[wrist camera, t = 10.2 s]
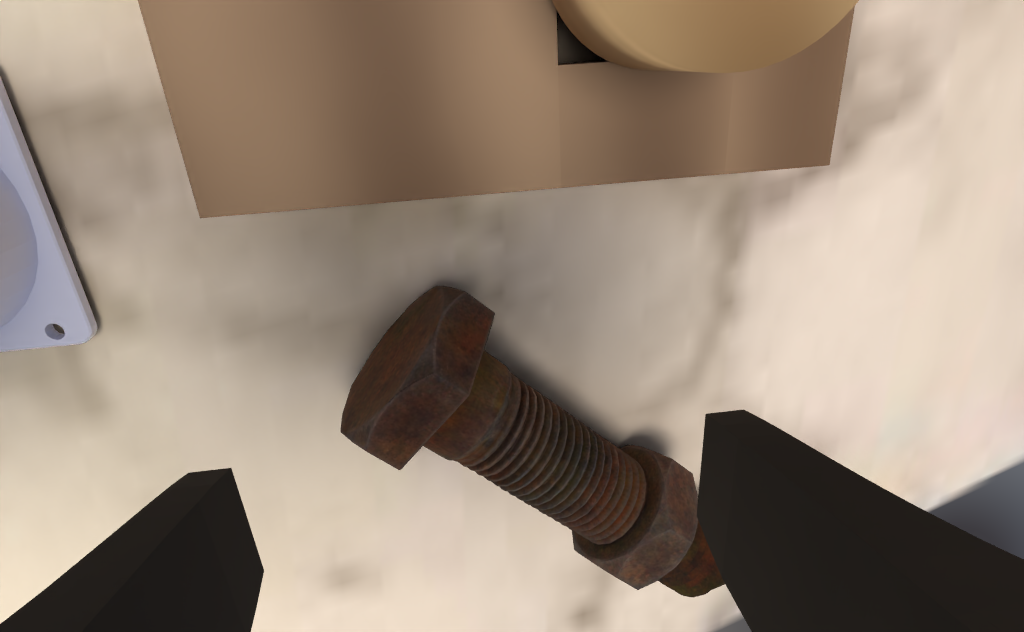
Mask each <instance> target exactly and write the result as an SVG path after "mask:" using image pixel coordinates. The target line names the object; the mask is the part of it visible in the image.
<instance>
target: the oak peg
mask: <svg viewBox="0 0 1024 632" xmlns="http://www.w3.org/2000/svg"><path fill="white" fill-rule="evenodd" d="M858 1H859V0H552V2H553V4H554V6H555V8H556V9H557V11H558V13H559V15H560V17H561V19H562V20H563V21H564V23H565V24H566V26H567V27H568V28H569V30H570V31H571V32H572V33H573V34H574V35H575V37H576V38H577V39H578V40H579V41H580V42H581V43H582V44H583V45H585V46H586V47H587V48H588V49H590V50H591V51H592V52H594V53H595V54H597V55H598V56H600V57H602V58H604V59H605V60H607V61H609V62H612V63H615V64H617V65H620V66H623V67H627V68H632V69H638V70H653V71H680V72H708V73H733V72H745V71H750V70H754V69H759V68H764V67H767V66H769V65H772V64H775V63H777V62H780V61H783V60H785V59H787V58H789V57H791V56H793V55H795V54H797V53H799V52H801V51H802V50H804V49H805V48H807V47H808V46H810V45H811V44H813V43H814V42H816V41H817V40H819V39H820V38H821V37H823V36H824V35H825V34H826V33H827V32H828V31H830V30H831V29H832V28H833V27H834V26H835V25H837V24H838V23H839V22H840V21H841V20H842V19H843V18H844V17H845V15H846V14H847V13H848V12H849V11H850V10H851V9H852V8H853V7H854V6H855V5H856V3H857V2H858Z"/></svg>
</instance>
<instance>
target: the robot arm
mask: <svg viewBox="0 0 1024 632" xmlns="http://www.w3.org/2000/svg"><path fill="white" fill-rule="evenodd" d="M53 324H57V325H59V326H61V327H62V328H63V330H64V332H65V334H61V333H59V332H57V331H56V330H55V328H54V327H53ZM96 332H97V323H96V321H95V318H94V316H93V313H92V310H91V308H90V305H89V303H88V300H87V298H86V295H85V292H84V290H83V287H82V285H81V282H80V280H79V277H78V274H77V272H76V269H75V267H74V264H73V262H72V259H71V257H70V254H69V251H68V249H67V246H66V244H65V241H64V239H63V236H62V233H61V231H60V228H59V226H58V223H57V221H56V218H55V215H54V213H53V210H52V208H51V205H50V203H49V200H48V197H47V195H46V192H45V190H44V187H43V185H42V182H41V179H40V177H39V174H38V172H37V169H36V167H35V164H34V161H33V159H32V156H31V154H30V151H29V149H28V146H27V144H26V141H25V138H24V136H23V133H22V131H21V128H20V126H19V123H18V120H17V118H16V115H15V113H14V110H13V108H12V105H11V102H10V100H9V97H8V95H7V92H6V90H5V87H4V84H3V82H2V79H1V77H0V352H6V351H17V350H27V349H37V348H47V347H57V346H67V345H77V344H82V343H86V342H87V341H88V340H90V339H91V338H92V337H93V336H94V335H96ZM697 518H698V520H699V523H700V526H701V528H702V531H703V533H704V536H705V538H706V541H707V543H708V546H709V548H710V551H711V553H712V555H713V558H714V560H715V562H716V565H717V567H718V569H719V572H720V574H721V577H722V578H723V580H724V582H725V584H726V586H727V588H728V590H729V591H730V593H731V595H732V597H733V599H734V600H735V602H736V604H737V606H738V608H739V609H740V611H741V613H742V615H743V617H744V619H745V620H746V622H747V624H748V626H749V627H750V629H751V631H752V632H1024V559H1021V558H1019V557H1017V556H1015V555H1012V554H1010V553H1008V552H1006V551H1004V550H1002V549H1000V548H998V547H996V546H994V545H991V544H989V543H987V542H985V541H983V540H981V539H979V538H977V537H975V536H973V535H971V534H969V533H967V532H965V531H963V530H961V529H959V528H957V527H956V526H954V525H951V524H950V523H947V522H946V521H944V520H942V519H940V518H938V517H936V516H934V515H932V514H930V513H928V512H926V511H924V510H922V509H920V508H918V507H917V506H915V505H913V504H911V503H909V502H907V501H905V500H904V499H902V498H900V497H898V496H896V495H894V494H892V493H891V492H889V491H887V490H885V489H883V488H882V487H880V486H878V485H876V484H874V483H873V482H871V481H869V480H867V479H865V478H864V477H862V476H860V475H858V474H857V473H855V472H853V471H851V470H850V469H848V468H846V467H844V466H843V465H841V464H839V463H837V462H836V461H834V460H832V459H830V458H829V457H827V456H825V455H824V454H822V453H820V452H818V451H817V450H815V449H813V448H812V447H810V446H808V445H806V444H805V443H803V442H801V441H800V440H798V439H796V438H794V437H793V436H791V435H789V434H787V433H786V432H784V431H782V430H780V429H779V428H777V427H775V426H774V425H772V424H770V423H768V422H766V421H765V420H763V419H761V418H759V417H757V416H755V415H753V414H751V413H749V412H747V411H745V410H736V411H728V412H719V413H710V414H706V417H705V428H704V439H703V450H702V462H701V473H700V484H699V495H698V506H697ZM263 573H264V569H263V566H262V563H261V560H260V557H259V554H258V550H257V547H256V544H255V541H254V538H253V535H252V532H251V529H250V525H249V522H248V519H247V516H246V513H245V510H244V507H243V504H242V500H241V497H240V494H239V491H238V488H237V485H236V482H235V479H234V476H233V472H232V469H231V468H227V469H218V470H209V471H200V472H192V473H188V474H186V475H185V476H184V477H182V478H181V479H179V480H178V481H177V482H175V483H174V484H173V485H171V486H170V487H169V488H168V489H166V490H165V491H164V492H163V493H161V494H160V495H159V496H158V497H156V498H155V499H154V500H153V501H151V502H150V503H149V504H148V505H147V506H145V507H144V508H143V509H142V510H141V511H139V512H138V513H137V514H136V515H135V516H133V517H132V518H131V519H130V520H128V521H127V522H126V523H125V524H124V525H122V526H121V527H120V528H119V529H118V530H117V531H115V532H114V533H113V534H112V535H111V536H109V537H108V538H107V539H106V540H104V541H103V542H102V543H101V544H100V545H98V546H97V547H96V548H95V549H94V550H92V551H91V552H90V553H89V554H87V555H86V556H85V557H84V558H83V559H81V560H80V561H79V562H78V563H77V564H75V565H74V566H73V567H72V568H70V569H69V570H68V571H67V572H66V573H64V574H63V575H62V576H61V577H60V578H58V579H57V580H56V581H55V582H53V583H52V584H51V585H50V586H49V587H47V588H46V589H45V590H44V591H42V592H41V593H40V594H38V595H37V596H36V597H35V598H33V599H32V600H31V601H29V602H28V603H27V604H26V605H24V606H23V607H22V608H20V609H19V610H18V611H17V612H15V613H14V614H13V615H11V616H10V617H9V618H8V619H6V620H5V621H4V622H2V623H1V624H0V632H251V628H252V624H253V619H254V615H255V611H256V607H257V602H258V597H259V592H260V587H261V583H262V578H263Z"/></svg>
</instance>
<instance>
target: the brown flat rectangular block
mask: <svg viewBox="0 0 1024 632" xmlns="http://www.w3.org/2000/svg"><path fill="white" fill-rule="evenodd" d="M138 2H139V6H140V9H141V13H142V16H143V20H144V23H145V27H146V30H147V34H148V37H149V41H150V44H151V48H152V51H153V55H154V58H155V62H156V65H157V69H158V72H159V76H160V79H161V83H162V86H163V90H164V93H165V97H166V100H167V104H168V107H169V111H170V114H171V118H172V121H173V125H174V128H175V132H176V135H177V139H178V142H179V146H180V149H181V153H182V156H183V160H184V163H185V167H186V170H187V174H188V177H189V181H190V184H191V188H192V191H193V195H194V198H195V202H196V205H197V209H198V212H199V216H200V218H207V217H219V216H231V215H243V214H255V213H267V212H279V211H291V210H302V209H314V208H326V207H338V206H350V205H362V204H374V203H386V202H398V201H409V200H421V199H433V198H445V197H457V196H469V195H481V194H493V193H504V192H516V191H528V190H540V189H552V188H564V187H576V186H588V185H600V184H611V183H623V182H635V181H647V180H659V179H671V178H683V177H695V176H706V175H718V174H730V173H742V172H754V171H766V170H778V169H790V168H802V167H813V166H825V165H829V164H830V157H831V151H832V145H833V139H834V132H835V126H836V120H837V114H838V107H839V101H840V95H841V89H842V82H843V76H844V70H845V64H846V57H847V51H848V45H849V39H850V32H851V26H852V20H853V14H854V7H855V6H854V7H853V8H852V9H851V10H850V11H849V12H848V13H847V14H846V15H845V17H844V18H843V19H842V20H841V21H840V22H839V23H838V24H837V25H835V26H834V27H833V28H832V29H831V30H830V31H828V32H827V33H826V34H825V35H824V36H823V37H821V38H820V39H819V40H817V41H816V42H814V43H813V44H811V45H810V46H808V47H807V48H805V49H804V50H802V51H801V52H799V53H797V54H795V55H793V56H791V57H789V58H787V59H785V60H783V61H780V62H777V63H775V64H772V65H769V66H767V67H764V68H759V69H754V70H750V71H745V72H733V73H708V72H680V71H653V70H638V69H632V68H627V67H623V66H620V65H617V64H615V63H612V62H609V61H607V60H603V61H588V62H574V63H559V64H558V49H557V10H556V8H555V6H554V4H553V2H552V0H138Z"/></svg>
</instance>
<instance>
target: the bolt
mask: <svg viewBox="0 0 1024 632" xmlns="http://www.w3.org/2000/svg"><path fill="white" fill-rule="evenodd" d="M494 316H495V313H494V312H493V311H491V310H490V309H488V308H487V307H486V306H484V305H483V304H482V303H480V302H479V301H477V300H476V299H475V298H473V297H472V296H471V295H469V294H468V293H467V292H465V291H461V290H458V289H455V288H451V287H444V286H436V287H434V288H432V289H431V290H429V291H428V292H426V293H425V294H424V295H422V296H421V297H419V298H418V299H417V300H416V301H415V302H413V303H412V304H411V305H410V306H409V307H408V308H407V309H406V310H405V312H404V313H403V314H402V315H401V316H400V317H399V319H398V320H397V321H396V322H395V323H394V324H393V325H392V326H391V327H390V328H389V330H388V331H387V332H386V334H385V335H384V336H383V338H382V339H381V341H380V342H379V343H378V345H377V346H376V348H375V349H374V351H373V352H372V353H371V355H370V357H369V358H368V360H367V362H366V363H365V365H364V366H363V368H362V370H361V371H360V373H359V375H358V376H357V378H356V379H355V381H354V383H353V384H352V386H351V389H350V392H349V395H348V398H347V401H346V404H345V408H344V411H343V414H342V423H341V433H343V434H344V435H345V436H346V437H347V438H348V439H350V440H351V441H352V442H353V443H355V444H356V445H358V446H359V447H361V448H362V449H364V450H365V451H367V452H368V453H370V454H372V455H374V456H375V457H377V458H379V459H381V460H382V461H384V462H386V463H388V464H390V465H391V466H393V467H395V468H397V469H398V470H401V469H402V468H403V467H404V466H405V465H406V463H407V462H408V461H409V460H410V459H411V458H412V457H413V456H414V455H415V454H416V453H417V452H418V450H419V449H420V448H421V447H422V446H424V447H426V448H428V449H429V450H431V451H433V452H435V453H436V454H438V455H440V456H441V457H443V458H445V459H447V460H454V461H457V462H459V463H460V464H462V465H463V466H465V467H468V468H469V469H470V470H473V471H475V472H476V473H477V474H478V475H482V476H484V477H485V478H486V479H487V480H489V481H491V482H493V483H494V484H495V485H497V486H500V488H501V489H503V490H504V491H508V492H509V493H510V494H511V495H513V496H516V497H517V498H518V499H520V500H522V501H524V502H525V503H526V504H528V505H531V506H532V507H534V508H536V509H538V510H539V511H540V512H542V513H543V514H546V515H547V516H549V517H551V518H553V519H554V520H555V521H558V522H560V523H561V524H562V525H564V526H567V527H568V528H569V529H570V530H572V535H573V543H574V550H575V551H577V552H578V553H579V554H581V555H582V556H584V557H585V558H587V559H588V560H590V561H591V562H593V563H594V564H596V565H597V566H599V567H600V568H602V569H603V570H605V571H607V572H608V573H610V574H611V575H613V576H615V577H616V578H618V579H620V580H621V581H623V582H625V583H627V584H628V585H630V586H632V587H634V588H635V589H637V590H639V589H641V588H643V587H645V586H648V585H650V584H652V583H654V582H656V581H659V582H661V583H662V584H663V585H666V586H667V587H669V588H670V589H672V590H675V591H676V592H677V593H679V594H681V595H683V596H688V597H696V596H700V595H704V594H706V593H708V592H709V591H710V590H712V589H715V588H717V587H719V586H722V585H724V584H725V582H724V580H723V578H722V577H721V574H720V572H719V569H718V567H717V565H716V562H715V560H714V558H713V555H712V553H711V551H710V548H709V546H708V543H707V541H706V538H705V536H704V533H703V531H702V528H701V526H700V523H699V520H698V518H697V506H698V500H697V491H696V487H695V483H694V478H693V474H692V473H691V472H689V471H688V470H687V469H685V468H684V467H683V466H681V465H680V464H678V463H677V462H676V461H674V460H673V459H671V458H669V457H666V456H664V455H662V454H659V453H657V452H654V451H652V450H649V449H646V448H644V447H640V446H636V445H627V446H624V447H622V448H620V449H619V448H617V447H616V446H615V445H614V444H612V443H610V442H609V441H607V440H606V439H604V438H602V437H601V436H600V435H598V434H597V433H596V432H594V431H592V430H591V429H590V428H589V427H587V426H585V425H584V424H583V423H582V422H580V421H579V420H577V419H576V418H574V417H573V416H572V415H569V414H568V412H566V411H565V410H563V409H562V408H560V407H559V406H558V405H555V404H554V403H553V402H552V401H550V400H548V398H546V397H545V396H543V395H542V394H540V393H539V392H538V391H536V390H535V389H533V388H532V387H531V386H529V385H526V384H525V382H523V381H522V380H520V379H519V378H517V377H516V376H515V375H513V374H512V373H510V372H509V370H508V368H507V367H506V366H505V365H504V364H502V363H501V362H500V361H498V360H497V359H495V358H494V357H493V356H491V355H490V354H488V353H487V352H486V351H484V348H485V345H486V341H487V338H488V335H489V332H490V329H491V326H492V322H493V319H494Z"/></svg>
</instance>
